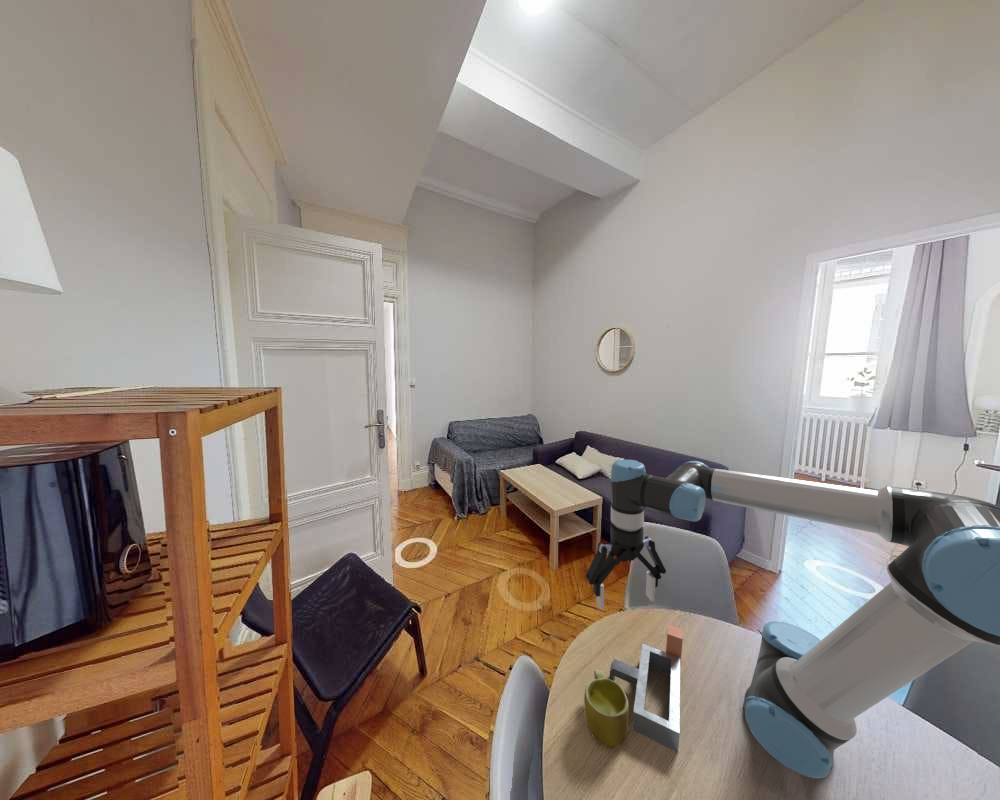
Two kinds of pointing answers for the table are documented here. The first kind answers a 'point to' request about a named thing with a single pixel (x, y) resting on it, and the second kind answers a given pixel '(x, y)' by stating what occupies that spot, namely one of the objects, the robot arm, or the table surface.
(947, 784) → the table surface
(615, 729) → the mug
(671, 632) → the terracotta clay brick
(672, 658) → the hollow metal rectangle ring
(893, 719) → the table surface
